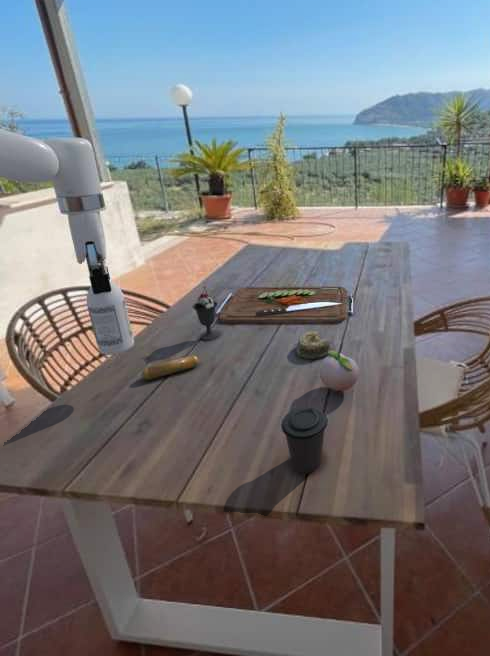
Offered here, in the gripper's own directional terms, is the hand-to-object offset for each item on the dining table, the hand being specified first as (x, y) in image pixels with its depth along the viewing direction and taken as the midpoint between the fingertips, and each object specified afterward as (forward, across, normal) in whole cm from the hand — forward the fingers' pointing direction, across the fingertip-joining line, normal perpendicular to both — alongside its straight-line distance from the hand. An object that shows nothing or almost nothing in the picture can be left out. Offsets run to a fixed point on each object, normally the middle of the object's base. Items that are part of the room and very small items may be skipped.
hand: (102, 288), depth 83 cm
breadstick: (+25, 0, +10) cm, 27 cm away
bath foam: (+15, 0, 0) cm, 15 cm away
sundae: (+25, -14, +22) cm, 36 cm away
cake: (+25, +9, +45) cm, 52 cm away
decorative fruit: (+25, +28, +42) cm, 56 cm away
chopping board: (+25, -22, +50) cm, 60 cm away
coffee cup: (+25, +43, +27) cm, 56 cm away
